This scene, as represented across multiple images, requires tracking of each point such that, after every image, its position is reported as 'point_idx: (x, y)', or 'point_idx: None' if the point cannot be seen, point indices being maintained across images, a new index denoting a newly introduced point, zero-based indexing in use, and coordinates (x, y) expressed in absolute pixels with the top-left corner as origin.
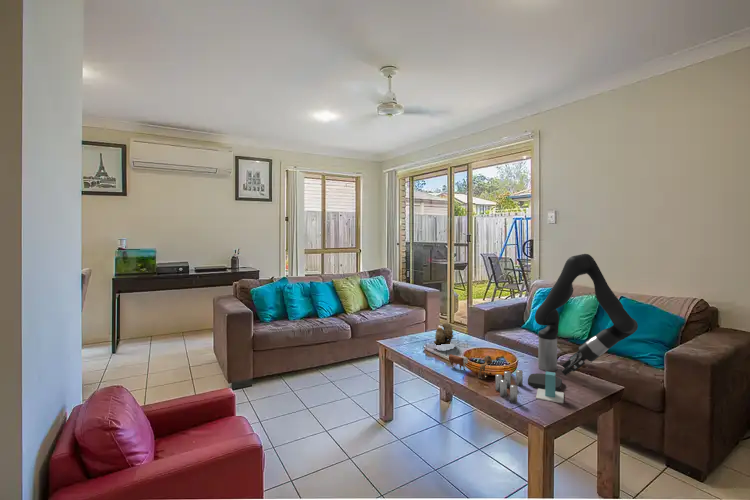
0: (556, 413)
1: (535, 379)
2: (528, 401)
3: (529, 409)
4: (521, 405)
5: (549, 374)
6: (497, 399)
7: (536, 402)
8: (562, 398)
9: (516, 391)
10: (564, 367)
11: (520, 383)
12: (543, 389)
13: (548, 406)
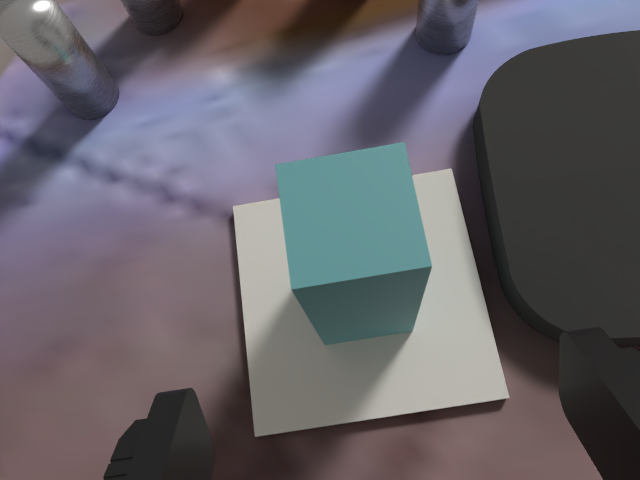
0: (21, 419)
1: (575, 98)
2: (150, 178)
3: (9, 222)
4: (54, 157)
5: (298, 212)
6: (81, 7)
7: (162, 232)
8: (347, 412)
9: (25, 59)
10: (562, 380)
11: (423, 29)
12: (456, 214)
13: (129, 332)
